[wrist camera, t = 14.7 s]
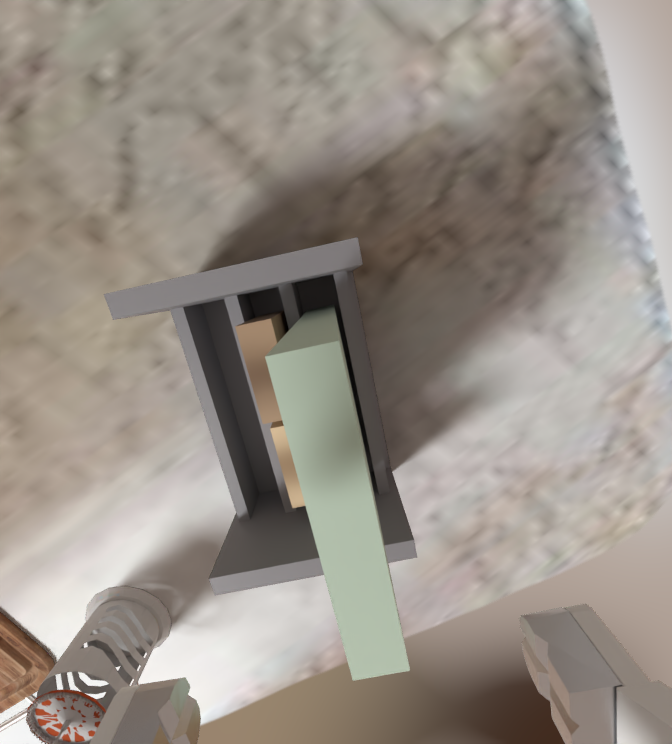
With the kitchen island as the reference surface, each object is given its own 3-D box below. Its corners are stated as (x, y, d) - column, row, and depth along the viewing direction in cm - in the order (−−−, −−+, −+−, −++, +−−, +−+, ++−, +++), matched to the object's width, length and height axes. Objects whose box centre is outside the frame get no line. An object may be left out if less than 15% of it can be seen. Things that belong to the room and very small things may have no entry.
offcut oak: (282, 400, 32) (270, 428, 26) (307, 395, 32) (301, 422, 26) (299, 466, 34) (292, 508, 28) (323, 462, 34) (321, 502, 28)
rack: (184, 290, 31) (103, 294, 20) (348, 254, 31) (357, 237, 20) (250, 500, 37) (214, 595, 26) (390, 472, 36) (417, 557, 25)
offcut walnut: (259, 315, 30) (235, 326, 23) (286, 309, 30) (270, 318, 23) (279, 390, 32) (262, 424, 24) (304, 385, 32) (296, 417, 24)
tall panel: (307, 310, 30) (265, 356, 11) (334, 304, 30) (338, 340, 11) (340, 453, 34) (352, 680, 14) (364, 448, 34) (409, 670, 14)
